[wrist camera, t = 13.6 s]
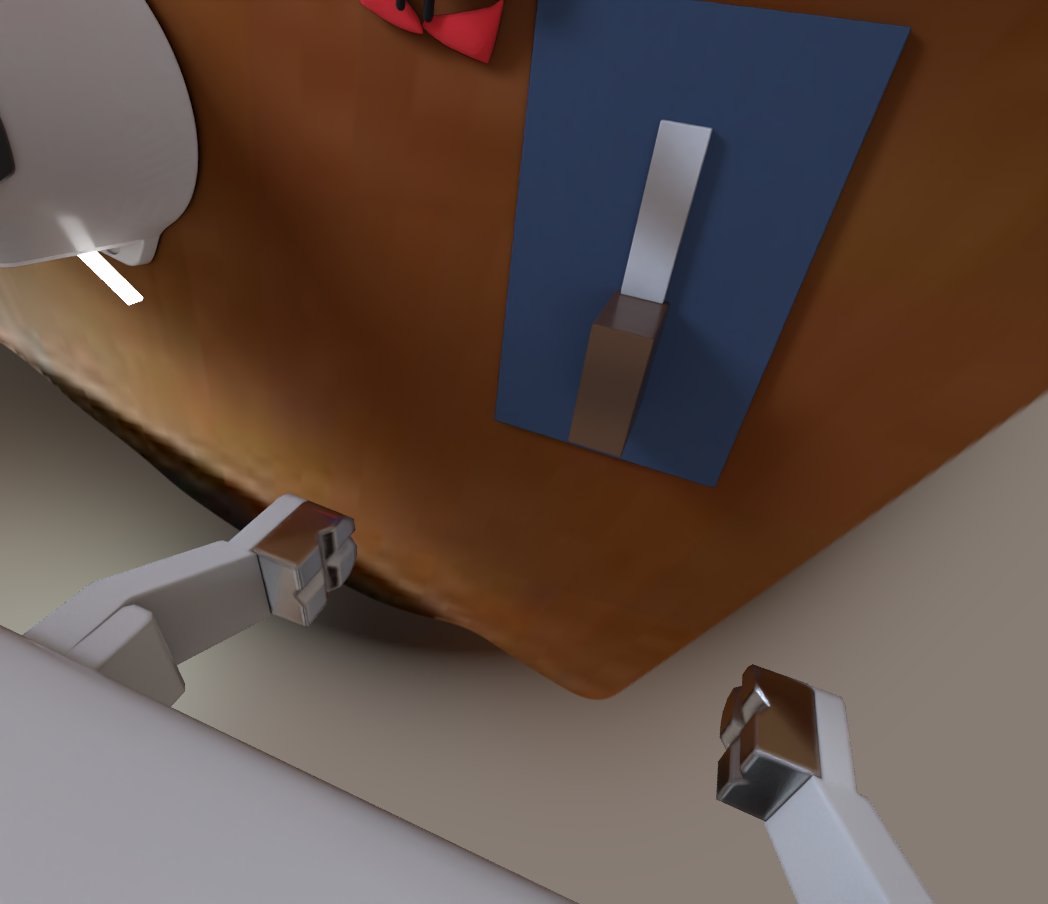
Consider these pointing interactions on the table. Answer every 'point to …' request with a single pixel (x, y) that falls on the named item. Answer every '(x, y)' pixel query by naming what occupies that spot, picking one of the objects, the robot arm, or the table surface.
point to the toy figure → (446, 25)
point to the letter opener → (639, 295)
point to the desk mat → (716, 212)
